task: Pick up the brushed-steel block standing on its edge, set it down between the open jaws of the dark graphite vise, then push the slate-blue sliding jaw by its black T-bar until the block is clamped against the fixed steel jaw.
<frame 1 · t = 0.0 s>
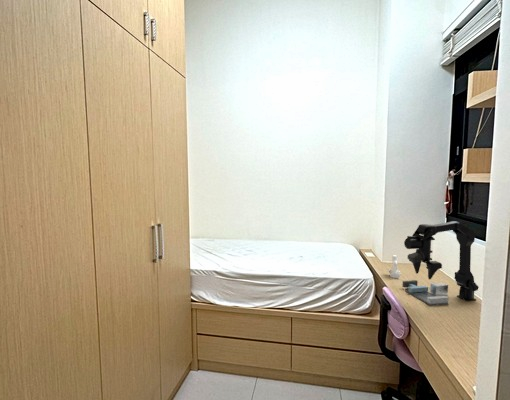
hand: (423, 276, 156), 15 cm above the table, tool pointing down, fingers open, 9 cm apart
vise base: (425, 297, 163), on the table
figurine: (394, 277, 196), on the table
steel block: (438, 294, 168), on the table
sliding jaw: (414, 286, 172), point 3 cm above the table, slide at 10.0 cm
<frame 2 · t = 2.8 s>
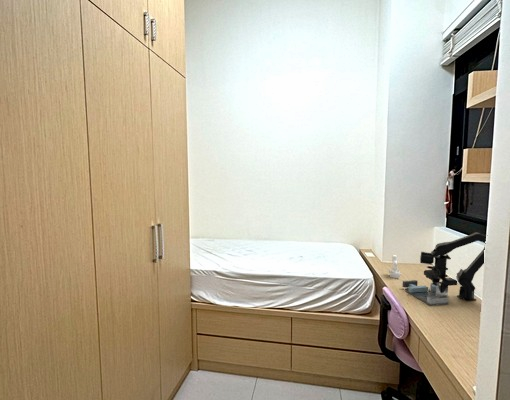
hand: (438, 291, 168), 2 cm above the table, tool pointing down, fingers closed on steel block, 4 cm apart
steel block: (438, 294, 168), on the table, touching gripper
everything else where it was.
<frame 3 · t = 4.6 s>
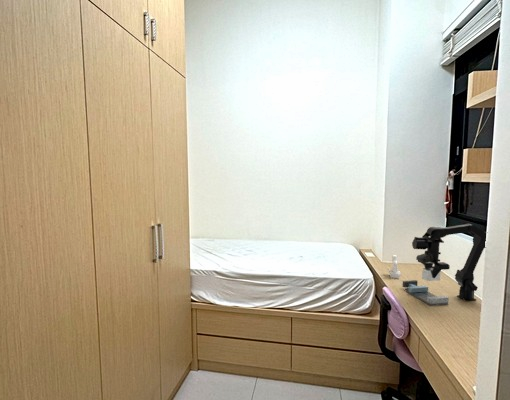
hand: (431, 276, 163), 12 cm above the table, tool pointing down, fingers closed on steel block, 4 cm apart
steel block: (430, 279, 163), point 10 cm above the table, touching gripper
everything else where it was.
when the fingers open (4 cm above the table, at t = 6.6 s): steel block drops 1 cm, resting on vise base.
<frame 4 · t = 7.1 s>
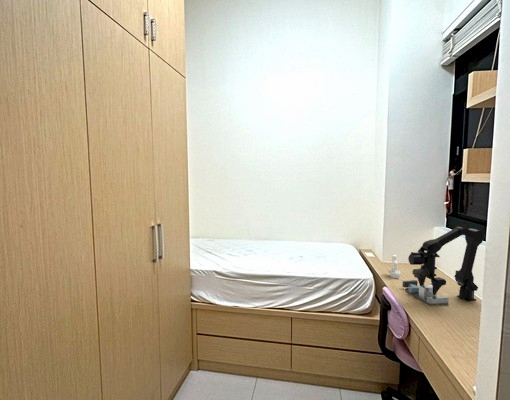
hand: (427, 291, 162), 4 cm above the table, tool pointing down, fingers open, 9 cm apart
steel block: (427, 296, 162), point 1 cm above the table, touching vise base
everything else where it was.
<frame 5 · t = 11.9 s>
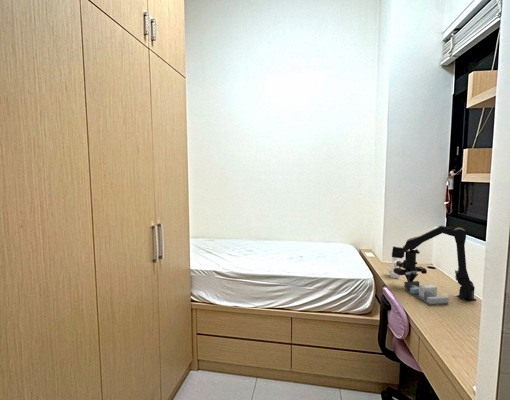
hand: (409, 284, 176), 2 cm above the table, tool pointing down, fingers closed
sliding jaw: (416, 287, 171), point 3 cm above the table, slide at 8.5 cm, touching gripper
everything else where it was.
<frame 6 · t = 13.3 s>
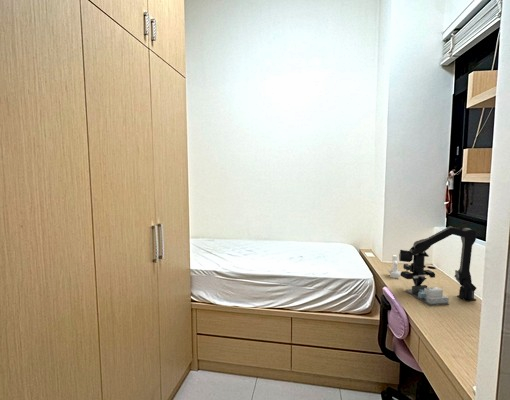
hand: (416, 288, 170), 2 cm above the table, tool pointing down, fingers closed, pressing on sliding jaw
steel block: (433, 299, 158), point 1 cm above the table, touching sliding jaw, vise base
sliding jaw: (424, 291, 164), point 3 cm above the table, slide at 2.0 cm, touching gripper, steel block
everything else where it was.
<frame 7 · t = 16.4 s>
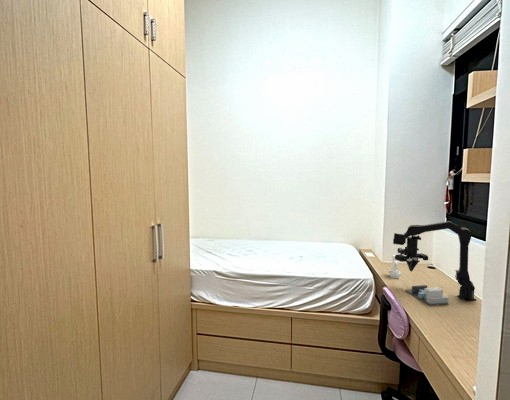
hand: (410, 271, 175), 11 cm above the table, tool pointing down, fingers closed
steel block: (432, 299, 158), point 1 cm above the table, touching vise base
sliding jaw: (424, 291, 164), point 3 cm above the table, slide at 2.0 cm
everything else where it was.
at the end: steel block 0.0 cm from the target spot, point 1.0 cm above the table; steel block tilted 0°; sliding jaw slide at 2.0 cm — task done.
